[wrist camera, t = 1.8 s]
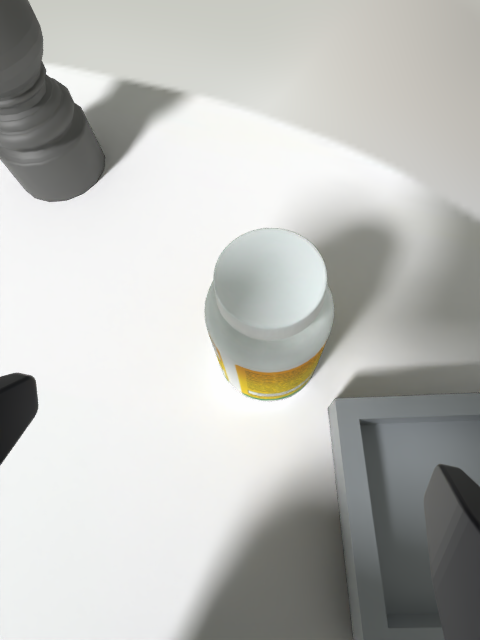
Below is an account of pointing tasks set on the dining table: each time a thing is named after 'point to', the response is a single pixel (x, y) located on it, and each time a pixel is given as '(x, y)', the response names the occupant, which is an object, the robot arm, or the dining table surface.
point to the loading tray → (395, 502)
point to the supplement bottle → (269, 313)
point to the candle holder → (40, 116)
